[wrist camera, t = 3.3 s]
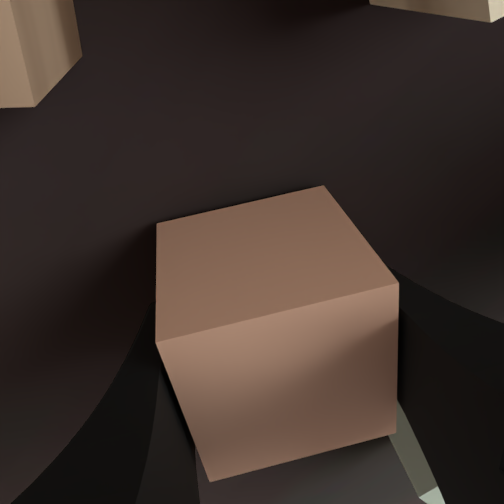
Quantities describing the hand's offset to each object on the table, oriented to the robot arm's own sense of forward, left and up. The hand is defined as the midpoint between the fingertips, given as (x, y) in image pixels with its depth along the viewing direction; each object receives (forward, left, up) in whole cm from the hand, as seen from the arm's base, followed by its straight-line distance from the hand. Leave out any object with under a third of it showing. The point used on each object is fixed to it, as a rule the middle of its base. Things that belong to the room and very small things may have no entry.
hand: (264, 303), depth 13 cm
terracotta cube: (0, 0, -2) cm, 2 cm away
